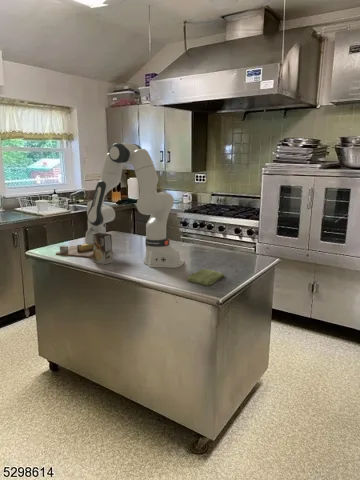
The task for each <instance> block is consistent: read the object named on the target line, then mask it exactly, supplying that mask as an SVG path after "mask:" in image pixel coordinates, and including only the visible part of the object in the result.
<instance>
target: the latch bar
mask: <svg viewBox="0 0 360 480" xmlns="http://www.w3.org/2000/svg"><path fill="white" fill-rule="evenodd" d="M76 246H77V251H78V252H82V251H84V250H89V249H93V244H86V243H83V244H77V245H76Z"/></svg>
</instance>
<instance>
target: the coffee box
mask: <svg viewBox="0 0 360 480" xmlns="http://www.w3.org/2000/svg"><path fill="white" fill-rule="evenodd" d="M92 239H93V255H94V257H93V263H96V264H101V265H108V264H111V263H113V262H114V261H113V243H112V240H113V239H112V233H111V234H110V233H106V234H105V233H96V234H93V235H92Z"/></svg>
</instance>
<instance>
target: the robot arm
mask: <svg viewBox="0 0 360 480" xmlns="http://www.w3.org/2000/svg"><path fill="white" fill-rule="evenodd" d="M126 164H131V166H132V167H133V170H134V171H133V172H134V174H135V177H136V181H137V183H138V188H139V196H138V198H137V201H136V209H137V211H138V212H139V213H140V215H141V214H142V215H144V216H149V215H150V217H149V219H148V220H147V222H146V223H145V232H146V234H145V243H144V244H145V257H144V260H143V264H145V265H146V266H148V267H150V268H172V269H175V268H176V269H177V268H180V267H182V266H183V264H184V263H185V262H184V259H182V258H181V257H180V251H178V250H177V249H176V248H175V247H173V246H172V245H171V243H170V242H171V238H168V237H167V224H168V223H167V222H168V218H169V214H170V213H171V210H172V208H173V207H174V205H175V200H174V199H175V198H174V196H173V195H172V194H171V193H168V192H165V191H161V192H160V191H159V192H158V190H157V185H158V183H159V176H158V173H157V170H156V166H155V164H154V161H153V159H152V157H151V154H149V151H148V150H146V149H145V148H142V147H141V146H140V145H139V144H136V143H128V142H116V143H113V144H111V145H110V147H109V148H108V153H106V154H105V158H104V161H103V165H102V170H101V171H102V172H101V176H100V178H99V181H98V182H97V184H96V186H95V190H94V192H93V197H92V200H89V201H88V202H87V204H86V205H87V206H86V215H87V217H86V218H87V230H86V231H85V236H84V237H85V240H84V241H85V244H93V239H92V235H93V234H96V233H105V234H107V229H106V227H107V224H106V223H110V222H113V221H114V220H115V218H116V211H115V209H114V208H113V206H111V205H107V204H105V203H104V202H105V197H106V195H107V193H109V192H110V191H111V190H112V189H114V188H116V187H117V186H118V185H119V184H120V182H121V179H122V174H123V167H124V165H126Z"/></svg>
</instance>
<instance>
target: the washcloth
mask: <svg viewBox="0 0 360 480" xmlns="http://www.w3.org/2000/svg"><path fill="white" fill-rule="evenodd" d="M223 277H225V274H224V273H223V272H220V271H217V270H213V269H207V268H202V269H200V270H198V271H196V272H194V273H192V274H190V275H188V277H187V279H186V280H187V281H188V282H189V283H194V284H200V285H203V286H205V287H209V286H211V285H213V284H214V283H216V282H217V281H218V280H220V279H221V278H223Z"/></svg>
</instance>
